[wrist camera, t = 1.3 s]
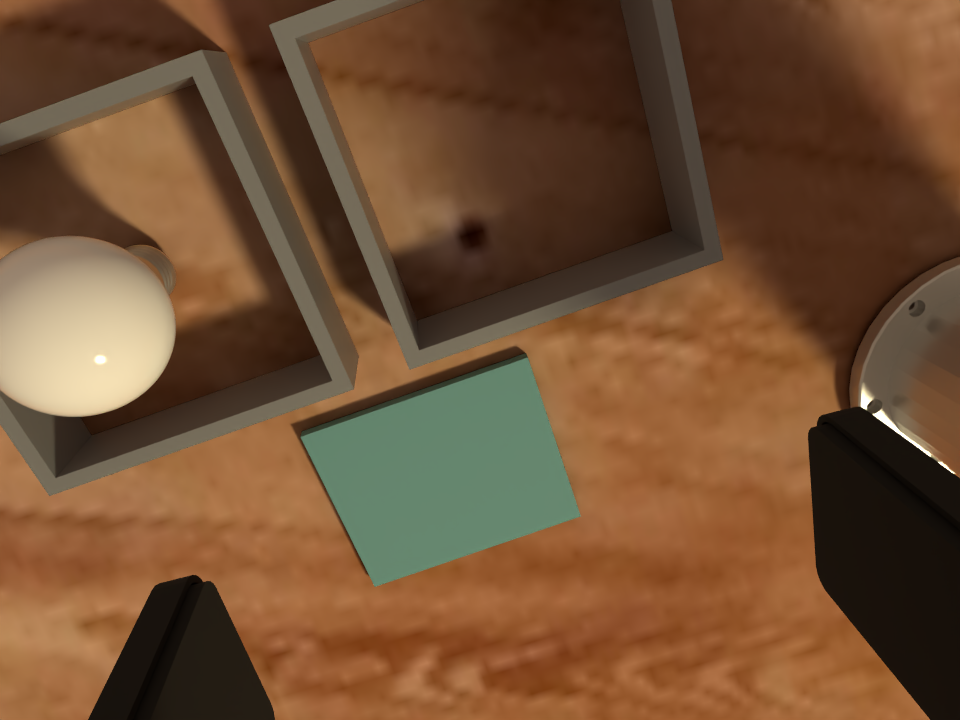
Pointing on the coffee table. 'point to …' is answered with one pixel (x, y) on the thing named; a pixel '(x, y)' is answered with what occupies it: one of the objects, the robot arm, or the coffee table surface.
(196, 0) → the coffee table surface
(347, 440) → the mat
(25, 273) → the lightbulb
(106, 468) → the box
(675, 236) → the box
